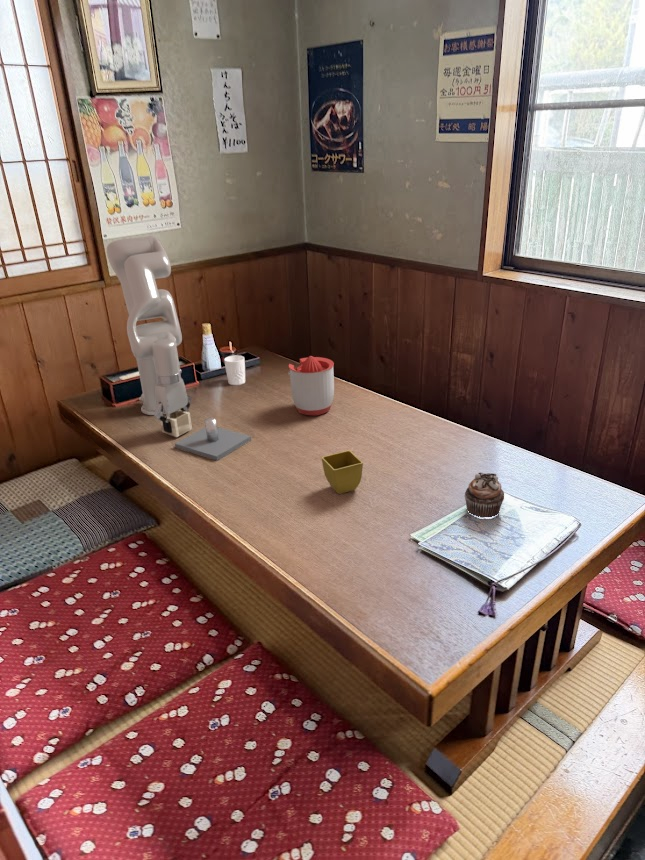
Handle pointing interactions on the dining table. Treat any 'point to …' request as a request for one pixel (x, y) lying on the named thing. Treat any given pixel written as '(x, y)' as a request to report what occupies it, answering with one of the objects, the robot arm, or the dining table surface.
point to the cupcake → (484, 495)
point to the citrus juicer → (312, 385)
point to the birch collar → (178, 423)
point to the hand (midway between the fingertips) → (176, 427)
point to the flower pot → (343, 471)
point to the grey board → (213, 443)
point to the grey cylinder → (211, 429)
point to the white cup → (235, 369)
